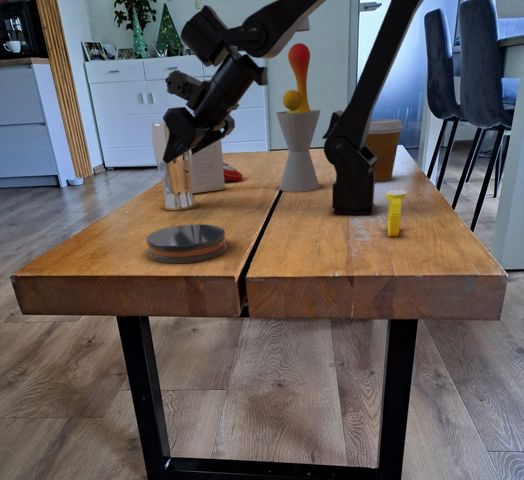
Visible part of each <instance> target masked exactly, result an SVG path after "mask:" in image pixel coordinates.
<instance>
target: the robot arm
mask: <svg viewBox="0 0 524 480" xmlns="http://www.w3.org/2000/svg"><path fill="white" fill-rule="evenodd" d="M326 1H327V0H274V1H273V2H270V3H268V4H265V5H264V6H262V7H261V8H260V9H258V10H256V11H255V12H253V13H252V14H251V15H248V16H247V17H246V18H245V19H244V21H243V22H242V23H241V25H238V26H234V27H230V28H229V27H228V26H227V24H226V23H224V21H223V20H222V19H221V18H220V17H219V16H218V14H217V12H216V11H215V10H214V8H213V7H212V6H211V5H207V4H204V5H203V7H202V8H201V10H200V11H198V12H196V13H194V15H193V16H192V17H190V19H189V20H187V21H186V22H185V24H184V25H183V27H182V29H181V32H180V37H179V38H180V41H181V42H182V43H183V44H184V45H185V46H186V47H187V48H188V49H189V50H190V51H191V53H193V55H194V56H195V57H196V58H197V59H198V60H199V62H200V63H201V64H203V66H204V67H206V68H208V67H211V66H213V67H215V68H217V67H218V68H217V69H216V71H215V72H214V74H213V75H212V76H211V78H210V79H208V80H203V81H202V80H200V79H197V78H195V77H193V76H191V75H189V74H188V73H186V72H182V71H181V70H179V69H174V70H173V71H171V72H169V73H168V76H167V77H166V78H165V80H164V81H165V84H166V88H167V89H166V92H167V93H168V94H170V95H174V96H177V97H179V98H181V99H182V100H184V101H186V103H185V106H177V107H176V106H175V107H170V108H168V109H166V111H165V113H164V115H163V116H162V120H163V122H165V125H166V126H167V127H168V129H169V138H168V142H167V146H166V149H165V153H164V156H163V161H164V162H165V163H166V164H168V163H170V162H171V161H173V160H175V159H176V158H178V157H179V156H181V155H183V154H184V153H186V152H187V151H189V150H191V149H192V155H193V154H195V153H197V152H199V151H200V150H202V149H204V148H206V147H208V146H209V145H211V144H213V143H215V142H217V141H219V140H220V139H221V140H222V139H225V138H226V136H229V135H231V133H232V132H233V131H234V129H235V128H236V123H235V118H233V117H232V116H231V115H230V114H231V113H232V112H233V111H237V110H238V108H239V107H240V104H239V102H240V100H241V99H242V98H243V97H244V95H245V94H246V92H247V91H248V90H249V88H250V87H251V86H252V85H253V83H254V82H255V83H256V85H258V86H259V87H263V86H268V84H269V78H268V67H267V66H259V65H258V64H257V63H256V61H255V60H254V59H253V58H255V59H265V60H266V59H267V60H269V59H270V60H271V59H274V58H275V57H277V56H278V55H280V53H281V52H282V51H283V49H285V47H286V46H287V44H289V42H290V41H291V40H292V38H293V37H294V36H295V34H296V33H297V32H296V31H297V29H298V27H299V26H300V25H301V23H302V22H303V21H304V20H305V19H306V18H307V17H308V18H309V16H310V15H311V14H312V13H314V12H315V11H316V10H317V9H318V8H319V7H321V6H322V5H323V4H324V3H325V2H326ZM424 1H425V0H390V2H389V4H388V7H387V10H386V12H385V15H384V17H383V20H382V22H381V25H380V26H379V29H378V32H377V34H376V37H375V39H374V42H373V44H372V47H371V49H370V52H369V54H368V57H367V59H366V62H365V63H364V67H363V69H362V71H361V74H360V76H359V78H358V81H357V83H356V86H355V89H354V91H353V93H352V96H351V98H350V100H349V103H348V105H347V106H346V107H345V109H344V110H342V109H339V110H336V111H334V112H333V111H332V113H331V117H330V121H329V126H328V129H327V130H326V131H325V133H324V135H323V136H322V137H321V138H322V139H323V140H324V144H323V153H324V156H325V158H326V160H327V161H328V162H329V164H331V165H332V166H333V168H334V171H335V174H336V175H335V181H334V182H333V184H332V201H331V204H332V205H331V206H332V209H333V214H334V215H373V213H374V210H375V206H376V205H375V204H376V203H374V202H375V183H376V182H375V172H370V171H371V170H372V169H373V168H374V165H375V163H376V160H377V157H376V156H375V155H374V153H373V152H372V151H371V150H370V149H369V148H368V147H367V146H366V145H365V143H366V140H367V136H368V132H369V128H370V123H371V120H372V119H373V118H372V117H373V113H374V109H375V107H376V104H377V102H378V100H379V98H380V96H381V93H382V90H383V88H384V87H385V84H386V81H387V79H388V77H389V75H390V73H391V71H392V68H393V66H394V63H395V61H396V59H397V56H398V54H399V53H400V50H401V47H402V45H403V43H404V41H405V38H406V35H407V33H408V31H409V29H410V26H411V25H412V22H413V20H414V17H415V15H416V13H417V12H418V10H419V8H420V7H421V5H422V4H423V2H424ZM236 47H237V48H242V49H243V51H244V52H245V53H244V54H241V52H240V51H238V50H237V48H236ZM188 109H189V110H190V111H189V110H188ZM191 111H192V113H191ZM222 129H223V130H222Z"/></svg>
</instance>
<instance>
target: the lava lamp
mask: <svg viewBox="0 0 524 480" xmlns="http://www.w3.org/2000/svg"><path fill="white" fill-rule="evenodd" d="M310 27H311V25H310V19H309V16H308V17H307V18H306V19H305V20H304V21H303V22H302V23H301V25H300V26H299V27H298V29H297V31H296V32H295V33H299V32H300V33H301V32H308V31H311V28H310ZM287 60H288V63H289V65H290V67H291V69H292V72H293V75H294V76H295V80H296V88H297V89H296V90H295V89H289V90H286V92H285V93H283V97H282V104H283V106H284V107H285V109H287V110H285V111H279V112H276V113H275V115H276V118H277V120H278V123H279V126H280V129H281V132H282V136H283V138H284V141H285V144H286V148H287V150H288V154H287V158H286V162H285V166H284V170H283V174H282V178H281V182H280V185H279V190H280V191H282V192H283V191H284V192H289V193H290V192H294V193H295V192H297V193H299V192H310V191H314V190H318V189H319V188H320V184H319V180H318V176H317V173H316V170H315V167H314V162H313V159H312V155H311V153H310V148H311V145H312V142H313V138H314V135H315V131H316V128H317V125H318V121H319V118H320V114H321V110H320V109H311V107H310V105H309V99H308V91H307V90H308V89H307V88H308V87H307V84H308V82H307V79H308V71H309V66H310V61H311V51H310V49H309V47H308V45H306V44H304V43H301V42H298V43H295V44H293V45H291V47H290V48H289V50H288V54H287Z"/></svg>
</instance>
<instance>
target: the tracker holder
mask: <svg viewBox="0 0 524 480" xmlns="http://www.w3.org/2000/svg"><path fill="white" fill-rule="evenodd" d="M223 171H224V180H227V181H232V182H240V181H242V179H243V174H242V173H241V172H240V171H238V170H237V169H236V168H234V167H233V166H230V165H229V164H228V163H226V162H224V161H223Z"/></svg>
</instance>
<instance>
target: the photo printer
mask: <svg viewBox="0 0 524 480" xmlns="http://www.w3.org/2000/svg"><path fill="white" fill-rule="evenodd" d="M222 146H223V145H222V139H220V140H219V141H217V142H215V143H213V144H211V145H209V146H208V147H206V148H204V149H202V150H200V151H199V152H197V153H195V154H193V155H192V173H191V187H192V193H193V194H199V193H200V194H201V193H207V192H208V193H209V192H215V191H224V190H225V188H226V186H225V185H226V184H225V179H224V171H223V162H224V159H223V147H222Z"/></svg>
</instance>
